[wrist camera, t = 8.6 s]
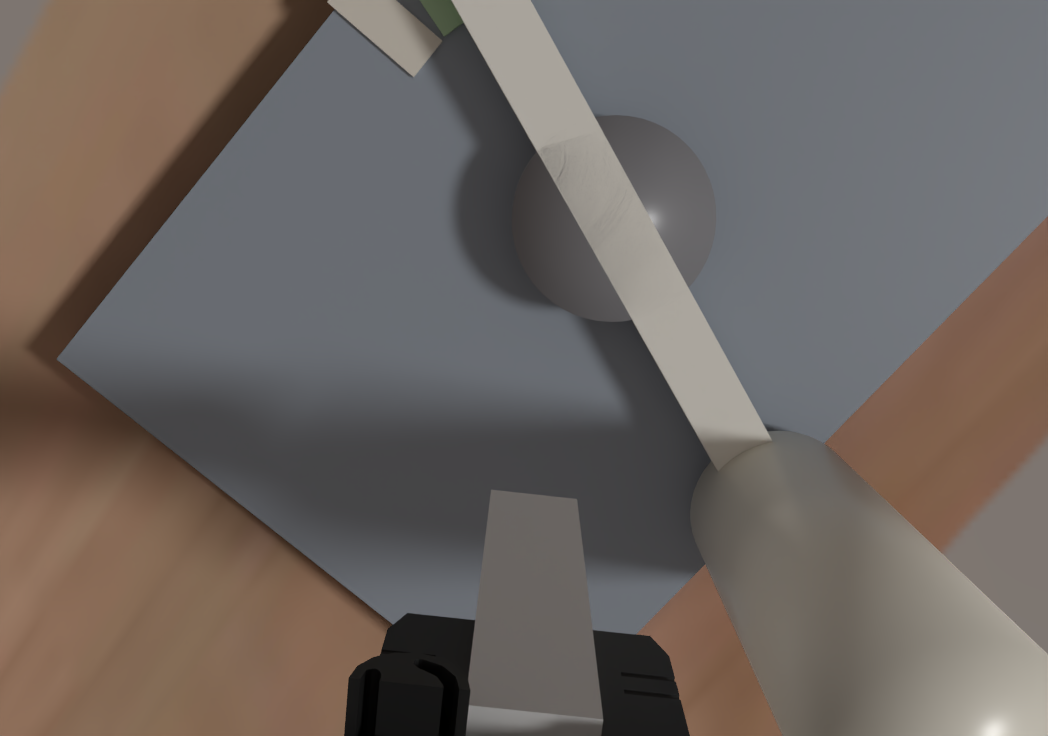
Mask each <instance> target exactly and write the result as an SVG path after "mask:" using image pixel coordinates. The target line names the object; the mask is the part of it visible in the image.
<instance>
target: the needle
mask: <svg viewBox="0 0 1048 736" xmlns="http://www.w3.org/2000/svg"><path fill="white" fill-rule="evenodd" d="M451 1H452V3H453V5H454V7H455V8H456V10H457V12H458V14H459V15H460V17H461V19H462V21H463V23H464V24H465V26H466V28H467V30H468V31H469V33H470V35H471V37H472V38H473V40H474V42H475V44H476V46H477V47H478V49H479V51H480V53H481V54H482V56H483V58H484V60H485V61H486V63H487V65H488V67H489V69H490V70H491V72H492V74H493V76H494V77H495V79H496V81H497V83H498V84H499V86H500V88H501V90H502V91H503V93H504V95H505V97H506V99H507V100H508V102H509V104H510V106H511V107H512V109H513V111H514V113H515V114H516V116H517V118H518V120H519V122H520V123H521V125H522V127H523V129H524V130H525V132H526V134H527V136H528V137H529V139H530V141H531V143H532V145H533V146H534V148H535V150H536V153H535V155H534V156H533V157H532V158H531V160H530V161H529V163H528V164H527V166H526V168H525V169H524V171H523V173H522V176H521V178H520V180H519V183H518V186H517V189H516V192H515V196H514V201H513V207H512V234H513V239H514V244H515V249H516V252H517V255H518V257H519V260H520V262H521V264H522V266H523V268H524V270H525V272H526V274H527V275H528V277H529V278H530V280H531V281H532V283H533V284H534V285H535V286H536V287H537V289H538V290H539V291H540V292H541V293H542V294H543V295H544V296H545V297H547V298H548V299H549V300H550V301H551V302H553V303H554V304H556V305H557V306H559V307H560V308H562V309H564V310H566V311H568V312H570V313H572V314H574V315H577V316H580V317H583V318H586V319H591V320H596V321H605V322H619V321H628V320H632V321H633V323H634V325H635V327H636V328H637V330H638V332H639V334H640V335H641V337H642V339H643V341H644V343H645V344H646V346H647V348H648V350H649V351H650V353H651V355H652V357H653V358H654V360H655V362H656V364H657V366H658V367H659V369H660V371H661V373H662V374H663V376H664V378H665V380H666V381H667V383H668V385H669V387H670V389H671V390H672V392H673V394H674V396H675V397H676V399H677V401H678V403H679V404H680V406H681V408H682V410H683V412H684V413H685V415H686V417H687V419H688V420H689V422H690V424H691V426H692V427H693V429H694V431H695V433H696V435H697V436H698V438H699V440H700V442H701V443H702V445H703V447H704V449H705V450H706V452H707V454H708V456H709V457H710V459H711V462H710V463H709V464H708V466H707V467H706V468H705V470H704V471H703V473H702V474H701V476H700V478H699V480H698V482H697V484H696V487H695V489H694V492H693V496H692V500H691V508H690V522H691V528H692V533H693V536H694V539H695V542H696V544H697V547H698V549H699V551H700V553H701V556H702V558H703V560H704V562H705V564H706V567H707V569H708V571H709V573H710V576H711V578H712V580H713V582H714V584H715V587H716V589H717V591H718V593H719V596H720V598H721V600H722V602H723V604H724V607H725V609H726V611H727V613H728V616H729V618H730V620H731V622H732V624H733V627H734V629H735V631H736V633H737V636H738V638H739V640H740V642H741V644H742V647H743V649H744V651H745V653H746V656H747V658H748V660H749V662H750V664H751V667H752V669H753V671H754V673H755V676H756V678H757V680H758V682H759V684H760V687H761V689H762V691H763V693H764V696H765V698H766V700H767V702H768V704H769V707H770V709H771V711H772V713H773V715H774V718H775V720H776V722H777V724H778V727H779V729H780V731H781V733H782V735H783V736H1048V654H1047V653H1046V652H1045V651H1044V650H1043V649H1042V648H1041V647H1039V645H1037V644H1036V643H1035V642H1034V641H1033V640H1032V639H1031V638H1030V637H1029V636H1028V635H1027V634H1026V633H1025V632H1024V631H1023V630H1022V629H1021V628H1020V627H1018V626H1017V625H1016V624H1015V623H1014V622H1013V621H1012V620H1011V619H1010V618H1009V617H1008V616H1007V615H1006V614H1005V613H1004V612H1003V611H1002V610H1001V609H999V608H998V607H997V606H996V605H995V604H994V603H993V602H992V601H991V600H990V599H989V598H988V597H987V596H986V595H985V594H984V593H983V592H982V591H981V590H979V589H978V588H977V587H976V586H975V585H974V584H973V583H972V582H971V581H970V580H969V579H968V578H967V577H966V576H965V575H964V574H963V573H961V571H959V569H957V568H956V567H955V566H954V565H953V564H952V563H951V562H950V561H949V560H948V559H947V558H946V557H945V556H944V555H943V554H942V553H941V552H940V551H938V550H937V549H936V548H935V547H934V546H933V545H932V544H931V543H930V542H929V541H928V540H927V539H926V538H925V537H924V536H923V535H922V534H921V533H920V532H918V531H917V530H916V529H915V528H914V527H913V526H912V525H911V524H910V523H909V522H908V521H907V520H906V519H905V518H904V517H903V516H902V515H901V514H900V513H898V512H897V511H896V510H895V509H894V508H893V507H892V506H891V505H890V504H889V503H888V502H887V501H886V500H885V499H884V498H883V497H882V496H881V495H880V494H878V493H877V492H876V491H875V490H874V489H873V488H872V487H871V486H870V485H869V484H868V483H867V482H866V481H865V480H864V479H863V478H862V477H861V476H860V475H858V474H857V473H856V472H855V471H854V470H853V469H852V468H851V467H850V466H849V465H848V464H847V463H846V462H845V461H844V460H843V459H842V458H841V457H840V456H838V455H837V454H836V453H835V452H834V451H833V450H832V449H831V448H830V447H828V446H827V445H825V444H824V443H822V442H821V441H818V440H816V439H814V438H812V437H810V436H807V435H804V434H801V433H796V432H791V431H767V430H766V428H765V426H764V425H763V423H762V421H761V419H760V417H759V415H758V414H757V412H756V410H755V408H754V406H753V404H752V403H751V401H750V399H749V397H748V395H747V394H746V392H745V390H744V388H743V386H742V384H741V383H740V381H739V379H738V377H737V375H736V374H735V372H734V370H733V368H732V366H731V364H730V363H729V361H728V359H727V357H726V355H725V353H724V352H723V350H722V348H721V346H720V344H719V343H718V341H717V339H716V337H715V335H714V333H713V332H712V330H711V328H710V326H709V324H708V322H707V321H706V319H705V317H704V315H703V313H702V312H701V310H700V308H699V306H698V304H697V302H696V301H695V299H694V297H693V295H692V293H691V292H690V290H689V287H690V286H691V284H692V283H693V282H694V281H695V279H696V278H697V276H698V275H699V274H700V272H701V270H702V269H703V267H704V265H705V263H706V261H707V259H708V256H709V254H710V251H711V248H712V245H713V240H714V236H715V229H716V203H715V197H714V192H713V189H712V185H711V182H710V179H709V177H708V175H707V173H706V170H705V168H704V167H703V165H702V163H701V162H700V160H699V159H698V157H697V156H696V154H695V153H694V152H693V151H692V150H691V148H690V147H689V146H688V145H687V144H686V143H685V142H684V141H682V140H681V139H680V138H679V137H678V136H677V135H675V134H674V133H672V132H671V131H669V130H668V129H666V128H664V127H662V126H660V125H658V124H656V123H654V122H651V121H648V120H645V119H642V118H637V117H632V116H622V115H610V116H600V117H594V115H593V113H592V111H591V109H590V107H589V106H588V104H587V102H586V100H585V98H584V97H583V95H582V93H581V91H580V89H579V87H578V86H577V84H576V82H575V80H574V78H573V77H572V75H571V73H570V71H569V69H568V67H567V66H566V64H565V62H564V60H563V58H562V56H561V55H560V53H559V51H558V49H557V47H556V46H555V44H554V42H553V40H552V38H551V36H550V35H549V33H548V31H547V29H546V27H545V25H544V24H543V22H542V20H541V18H540V16H539V15H538V13H537V11H536V9H535V7H534V5H533V4H532V2H531V0H451Z"/></svg>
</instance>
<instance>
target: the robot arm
mask: <svg viewBox="0 0 1048 736" xmlns="http://www.w3.org/2000/svg"><path fill="white" fill-rule="evenodd" d="M674 679H675V677H674V673H673V669H672V666H671V662H670V658H669V656H668V655H667V654H666V652H665V651H664V650H663V649H662V648H661V647H660V646H659V645H658V644H657V643H656V642H655V641H654V640H653V639H652V638H651V637H650V636H644V635H635V634H625V633H616V632H606V631H597V630H593V629H592V620H591V612H590V604H589V595H588V587H587V578H586V570H585V562H584V553H583V545H582V537H581V528H580V520H579V511H578V503H577V499H573V498H563V497H554V496H545V495H536V494H527V493H517V492H508V491H499V490H491V494H490V503H489V511H488V519H487V527H486V536H485V544H484V552H483V560H482V569H481V577H480V585H479V594H478V602H477V610H476V618H475V620H469V619H460V618H450V617H441V616H431V615H422V614H413V613H407V614H405V615H404V616H403V617H402V618H401V619H399V620H398V621H397V622H396V623H394V624H393V625H392V626H391V627H390V628H388V630H387V633H386V637H385V640H384V643H383V647H382V651H381V654H380V656H377V657H373V658H371V659H369V660H367V661H366V662H364V663H362V664H360V665H358V666H357V667H356V669H355V670H354V671H353V673H352V674H351V676H350V677H349V682H348V695H347V708H346V721H345V734H344V736H690V735H689V731H688V727H687V723H686V719H685V716H684V712H683V708H682V704H681V700H679V693H678V689H677V685H676V682H674Z"/></svg>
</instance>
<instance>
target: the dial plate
mask: <svg viewBox="0 0 1048 736" xmlns="http://www.w3.org/2000/svg"><path fill="white" fill-rule="evenodd" d="M531 2H532V4H533V5H534V7H535V9H536V11H537V13H538V15H539V16H540V18H541V20H542V22H543V24H544V25H545V27H546V29H547V31H548V33H549V35H550V36H551V38H552V40H553V42H554V44H555V46H556V47H557V49H558V51H559V53H560V55H561V56H562V58H563V60H564V62H565V64H566V66H567V67H568V69H569V71H570V73H571V75H572V77H573V78H574V80H575V82H576V84H577V86H578V87H579V89H580V91H581V93H582V95H583V97H584V98H585V100H586V102H587V104H588V106H589V107H590V109H591V111H592V113H593V115H594V117H600V116H610V115H622V116H632V117H637V118H642V119H645V120H648V121H651V122H654V123H656V124H658V125H660V126H662V127H664V128H666V129H668V130H669V131H671V132H672V133H674V134H675V135H677V136H678V137H679V138H680V139H681V140H682V141H684V142H685V143H686V144H687V145H688V146H689V147H690V148H691V150H692V151H693V152H694V153H695V154H696V156H697V157H698V159H699V160H700V162H701V163H702V165H703V167H704V168H705V170H706V173H707V175H708V177H709V179H710V182H711V185H712V189H713V192H714V197H715V203H716V229H715V236H714V240H713V245H712V248H711V251H710V254H709V256H708V259H707V261H706V263H705V265H704V267H703V269H702V270H701V272H700V274H699V275H698V276H697V278H696V279H695V281H694V282H693V283H692V284H691V286H690V287H689V290H690V292H691V293H692V295H693V297H694V299H695V301H696V302H697V304H698V306H699V308H700V310H701V312H702V313H703V315H704V317H705V319H706V321H707V322H708V324H709V326H710V328H711V330H712V332H713V333H714V335H715V337H716V339H717V341H718V343H719V344H720V346H721V348H722V350H723V352H724V353H725V355H726V357H727V359H728V361H729V363H730V364H731V366H732V368H733V370H734V372H735V374H736V375H737V377H738V379H739V381H740V383H741V384H742V386H743V388H744V390H745V392H746V394H747V395H748V397H749V399H750V401H751V403H752V404H753V406H754V408H755V410H756V412H757V414H758V415H759V417H760V419H761V421H762V423H763V425H764V426H765V428H766V430H767V431H791V432H796V433H801V434H804V435H807V436H810V437H812V438H814V439H816V440H818V441H821V442H822V443H825V442H826V441H827V440H828V439H829V438H830V437H831V436H832V435H833V434H834V432H835V431H836V430H837V429H838V428H839V427H840V426H841V425H842V424H843V423H844V422H845V421H846V420H847V419H848V418H849V417H850V416H851V415H852V414H853V413H854V412H855V411H856V410H857V409H858V408H859V407H860V406H861V405H862V404H863V403H864V402H865V401H866V400H867V399H868V398H869V397H870V396H871V395H872V394H873V393H874V392H875V391H876V390H877V389H878V388H879V387H880V386H881V385H882V384H883V383H884V382H885V381H886V380H887V379H888V378H889V377H890V376H891V375H892V374H893V373H894V372H895V371H896V369H897V368H898V367H899V366H900V365H901V364H902V363H903V362H904V361H905V360H906V359H907V358H908V357H909V356H910V355H911V354H912V353H913V352H914V351H915V350H916V349H917V348H918V347H919V346H920V345H921V344H922V343H923V342H924V341H925V340H926V339H927V338H928V337H929V336H930V335H931V334H932V333H933V332H934V331H935V330H936V329H937V328H938V327H939V326H940V325H941V324H942V323H943V322H944V321H945V320H946V319H947V318H948V317H949V316H950V315H951V314H952V313H953V312H954V311H955V310H956V309H957V308H958V306H959V305H960V304H961V303H962V302H963V301H964V300H965V299H966V298H967V297H968V296H969V295H970V294H971V293H972V292H973V291H974V290H975V289H976V288H977V287H978V286H979V285H980V284H981V283H982V282H983V281H984V280H985V279H986V278H987V277H988V276H989V275H990V274H991V273H992V272H993V271H994V270H995V269H996V268H997V267H998V266H999V265H1000V264H1001V263H1002V262H1003V261H1004V260H1005V259H1006V258H1007V257H1008V256H1009V255H1010V254H1011V253H1012V252H1013V251H1014V250H1015V249H1016V248H1017V247H1018V246H1019V245H1020V243H1021V242H1022V241H1023V240H1024V239H1025V238H1026V237H1027V236H1028V235H1029V234H1030V233H1031V232H1032V231H1033V230H1034V229H1035V228H1036V227H1037V226H1038V225H1039V224H1040V223H1041V222H1042V221H1043V220H1044V219H1045V218H1046V217H1047V216H1048V0H531ZM327 3H329V4H330V5H331V6H332V7H333V8H334V9H335V10H334V11H333V12H332V13H331V15H330V16H329V17H328V18H327V20H326V21H325V22H324V23H323V25H322V26H321V27H320V28H319V30H318V31H317V32H316V33H315V35H314V36H313V37H312V38H311V40H310V41H309V42H308V43H307V45H306V46H305V47H304V49H303V50H302V51H301V52H300V54H299V55H298V56H297V57H296V59H295V60H294V61H293V62H292V64H291V65H290V66H289V67H288V69H287V70H286V71H285V72H284V74H283V75H282V76H281V77H280V79H279V80H278V81H277V82H276V84H275V85H274V86H273V87H272V89H271V90H270V91H269V92H268V94H267V95H266V96H265V98H264V99H263V100H262V101H261V103H260V104H259V105H258V106H257V108H256V109H255V110H254V111H253V113H252V114H251V115H250V116H249V118H248V119H247V120H246V121H245V123H244V124H243V125H242V126H241V128H240V129H239V130H238V131H237V133H236V134H235V135H234V136H233V138H232V139H231V140H230V142H229V143H228V144H227V145H226V147H225V148H224V149H223V150H222V152H221V153H220V154H219V155H218V157H217V158H216V159H215V160H214V162H213V163H212V164H211V165H210V167H209V168H208V169H207V170H206V172H205V173H204V174H203V175H202V177H201V178H200V179H199V180H198V182H197V183H196V184H195V185H194V187H193V188H192V189H191V191H190V192H189V193H188V194H187V196H186V197H185V198H184V199H183V201H182V202H181V203H180V204H179V206H178V207H177V208H176V209H175V211H174V212H173V213H172V214H171V216H170V217H169V218H168V219H167V221H166V222H165V223H164V224H163V226H162V227H161V228H160V229H159V231H158V232H157V233H156V235H155V236H154V237H153V238H152V240H151V241H150V242H149V243H148V245H147V246H146V247H145V248H144V250H143V251H142V252H141V253H140V255H139V256H138V257H137V258H136V260H135V261H134V262H133V263H132V265H131V266H130V267H129V268H128V270H127V271H126V272H125V273H124V275H123V276H122V277H121V279H120V280H119V281H118V282H117V284H116V285H115V286H114V287H113V289H112V290H111V291H110V292H109V294H108V295H107V296H106V297H105V299H104V300H103V301H102V302H101V304H100V305H99V306H98V307H97V309H96V310H95V311H94V312H93V314H92V315H91V316H90V317H89V319H88V320H87V321H86V322H85V324H84V325H83V326H82V328H81V329H80V330H79V331H78V333H77V334H76V335H75V336H74V338H73V339H72V340H71V341H70V343H69V344H68V345H67V346H66V348H65V349H64V350H63V351H62V353H61V354H60V355H59V356H58V358H57V360H58V361H59V362H61V363H62V364H63V365H64V366H66V367H67V368H68V369H69V370H71V371H72V372H73V373H75V374H76V375H77V376H78V377H80V378H81V379H82V380H83V381H85V382H86V383H87V384H88V385H90V386H91V387H92V388H94V389H95V390H96V391H97V392H99V393H100V394H101V395H102V396H104V397H105V398H106V399H108V400H109V401H110V402H111V403H113V404H114V405H115V406H116V407H118V408H119V409H120V410H121V411H123V412H124V413H125V414H127V415H128V416H129V417H130V418H132V419H133V420H134V421H135V422H137V423H138V424H139V425H141V426H142V427H143V428H144V429H146V430H147V431H148V432H149V433H151V434H152V435H153V436H154V437H156V438H157V439H158V440H160V441H161V442H162V443H163V444H165V445H166V446H167V447H168V448H170V449H171V450H172V451H173V452H175V453H176V454H177V455H179V456H180V457H181V458H182V459H184V460H185V461H186V462H187V463H189V464H190V465H191V466H193V467H194V468H195V469H196V470H198V471H199V472H200V473H201V474H203V475H204V476H205V477H206V478H208V479H209V480H210V481H212V482H213V483H214V484H215V485H217V486H218V487H219V488H220V489H222V490H223V491H224V492H225V493H227V494H228V495H229V496H231V497H232V498H233V499H234V500H236V501H237V502H238V503H239V504H241V505H242V506H243V507H245V508H246V509H247V510H248V511H250V512H251V513H252V514H253V515H255V516H256V517H257V518H258V519H260V520H261V521H262V522H264V523H265V524H266V525H267V526H269V527H270V528H271V529H272V530H274V531H275V532H276V533H277V534H279V535H280V536H281V537H283V538H284V539H285V540H286V541H288V542H289V543H290V544H291V545H293V546H294V547H295V548H297V549H298V550H299V551H300V552H302V553H303V554H304V555H305V556H307V557H308V558H309V559H310V560H312V561H313V562H314V563H316V564H317V565H318V566H319V567H321V568H322V569H323V570H324V571H326V572H327V573H328V574H329V575H331V576H332V577H333V578H335V579H336V580H337V581H338V582H340V583H341V584H342V585H343V586H345V587H346V588H347V589H349V590H350V591H351V592H352V593H354V594H355V595H356V596H357V597H359V598H360V599H361V600H362V601H364V602H365V603H366V604H368V605H369V606H370V607H371V608H373V609H374V610H375V611H376V612H378V613H379V614H380V615H382V616H383V617H384V618H385V619H387V620H388V621H389V622H390V623H392V624H394V623H396V622H397V621H398V620H399V619H401V618H402V617H403V616H404V615H405V614H407V613H413V614H422V615H431V616H441V617H450V618H460V619H469V620H475V618H476V610H477V602H478V594H479V585H480V577H481V569H482V560H483V552H484V544H485V536H486V527H487V519H488V511H489V503H490V494H491V490H499V491H508V492H517V493H527V494H536V495H545V496H554V497H563V498H573V499H577V503H578V511H579V520H580V528H581V537H582V545H583V553H584V562H585V570H586V578H587V587H588V595H589V604H590V612H591V620H592V629H593V630H597V631H606V632H616V633H625V634H635V635H636V634H637V633H638V632H639V631H640V630H641V629H642V628H643V627H644V626H645V625H646V624H647V623H648V622H649V620H650V619H651V618H652V617H653V616H654V615H655V614H656V613H657V612H658V611H659V610H660V609H661V608H662V607H663V606H664V605H665V604H666V603H667V602H668V601H669V600H670V599H671V598H672V597H673V596H674V595H675V594H676V593H677V592H678V591H679V590H680V589H681V588H682V587H683V586H684V585H685V584H686V583H687V582H688V581H689V580H690V579H691V578H692V577H693V576H694V575H695V574H696V573H697V572H698V571H699V570H700V569H701V568H702V567H703V566H704V565H705V562H704V560H703V558H702V556H701V553H700V551H699V549H698V547H697V544H696V542H695V539H694V536H693V533H692V528H691V522H690V508H691V500H692V496H693V492H694V489H695V487H696V484H697V482H698V480H699V478H700V476H701V474H702V473H703V471H704V470H705V468H706V467H707V466H708V464H709V463H710V462H711V459H710V457H709V456H708V454H707V452H706V450H705V449H704V447H703V445H702V443H701V442H700V440H699V438H698V436H697V435H696V433H695V431H694V429H693V427H692V426H691V424H690V422H689V420H688V419H687V417H686V415H685V413H684V412H683V410H682V408H681V406H680V404H679V403H678V401H677V399H676V397H675V396H674V394H673V392H672V390H671V389H670V387H669V385H668V383H667V381H666V380H665V378H664V376H663V374H662V373H661V371H660V369H659V367H658V366H657V364H656V362H655V360H654V358H653V357H652V355H651V353H650V351H649V350H648V348H647V346H646V344H645V343H644V341H643V339H642V337H641V335H640V334H639V332H638V330H637V328H636V327H635V325H634V323H633V321H632V320H628V321H619V322H605V321H596V320H591V319H586V318H583V317H580V316H577V315H574V314H572V313H570V312H568V311H566V310H564V309H562V308H560V307H559V306H557V305H556V304H554V303H553V302H551V301H550V300H549V299H548V298H547V297H545V296H544V295H543V294H542V293H541V292H540V291H539V290H538V289H537V287H536V286H535V285H534V284H533V283H532V281H531V280H530V278H529V277H528V275H527V274H526V272H525V270H524V268H523V266H522V264H521V262H520V260H519V257H518V255H517V252H516V249H515V244H514V239H513V234H512V207H513V201H514V196H515V192H516V189H517V186H518V183H519V180H520V178H521V176H522V173H523V171H524V169H525V168H526V166H527V164H528V163H529V161H530V160H531V158H532V157H533V156H534V155H535V153H536V150H535V148H534V146H533V145H532V143H531V141H530V139H529V137H528V136H527V134H526V132H525V130H524V129H523V127H522V125H521V123H520V122H519V120H518V118H517V116H516V114H515V113H514V111H513V109H512V107H511V106H510V104H509V102H508V100H507V99H506V97H505V95H504V93H503V91H502V90H501V88H500V86H499V84H498V83H497V81H496V79H495V77H494V76H493V74H492V72H491V70H490V69H489V67H488V65H487V63H486V61H485V60H484V58H483V56H482V54H481V53H480V51H479V49H478V47H477V46H476V44H475V42H474V40H473V38H472V37H471V35H470V33H469V31H468V30H467V28H466V26H465V24H464V23H463V21H462V19H461V17H460V15H459V14H458V12H457V10H456V8H455V7H454V5H453V3H452V1H451V0H328V2H327Z"/></svg>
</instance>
